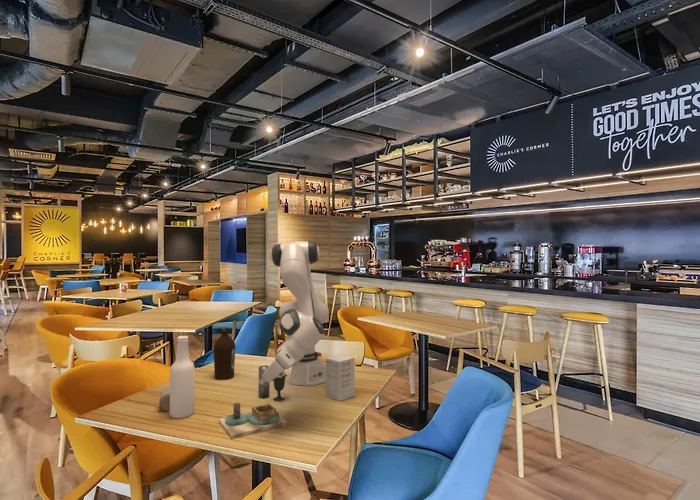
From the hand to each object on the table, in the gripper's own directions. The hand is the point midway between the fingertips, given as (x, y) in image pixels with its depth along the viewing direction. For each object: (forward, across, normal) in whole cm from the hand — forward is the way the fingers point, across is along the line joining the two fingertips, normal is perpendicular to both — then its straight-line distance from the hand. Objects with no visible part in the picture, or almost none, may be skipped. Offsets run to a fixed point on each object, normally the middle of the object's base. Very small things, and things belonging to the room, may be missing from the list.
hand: (262, 380), depth 145 cm
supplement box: (-8, -29, +30) cm, 42 cm away
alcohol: (+34, -6, -12) cm, 37 cm away
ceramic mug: (+39, -13, -17) cm, 44 cm away
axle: (+4, 0, +5) cm, 6 cm away
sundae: (+10, -24, +12) cm, 28 cm away
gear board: (+13, +1, +8) cm, 16 cm away
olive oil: (+34, -53, -13) cm, 65 cm away
